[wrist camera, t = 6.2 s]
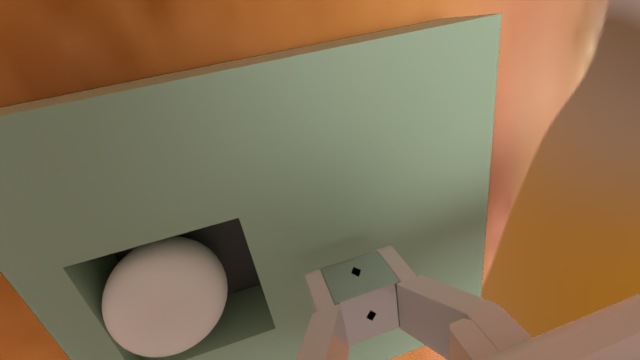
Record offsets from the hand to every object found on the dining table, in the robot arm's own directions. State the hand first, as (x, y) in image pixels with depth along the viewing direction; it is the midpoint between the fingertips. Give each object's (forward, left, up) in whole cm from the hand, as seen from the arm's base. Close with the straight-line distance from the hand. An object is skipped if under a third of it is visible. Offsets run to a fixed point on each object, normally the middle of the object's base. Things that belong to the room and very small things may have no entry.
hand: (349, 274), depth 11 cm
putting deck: (0, -1, -4) cm, 5 cm away
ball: (0, -6, -2) cm, 6 cm away
